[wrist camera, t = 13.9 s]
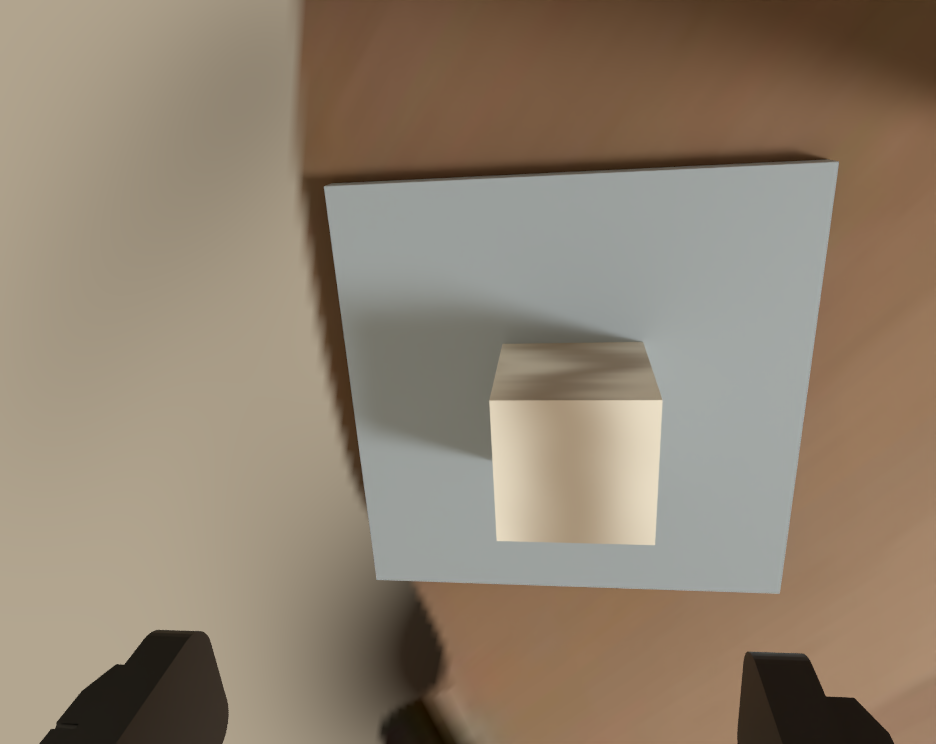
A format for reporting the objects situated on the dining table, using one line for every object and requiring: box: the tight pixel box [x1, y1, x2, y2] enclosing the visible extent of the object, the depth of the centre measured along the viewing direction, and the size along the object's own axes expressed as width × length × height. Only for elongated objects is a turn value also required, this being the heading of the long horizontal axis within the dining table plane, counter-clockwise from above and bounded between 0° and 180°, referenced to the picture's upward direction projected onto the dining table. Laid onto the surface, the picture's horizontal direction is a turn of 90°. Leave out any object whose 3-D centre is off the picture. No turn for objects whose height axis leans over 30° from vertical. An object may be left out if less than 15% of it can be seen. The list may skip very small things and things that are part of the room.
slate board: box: [324, 159, 839, 594], centre depth 31 cm, size 20×20×1 cm
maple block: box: [489, 342, 663, 545], centre depth 28 cm, size 6×6×6 cm
